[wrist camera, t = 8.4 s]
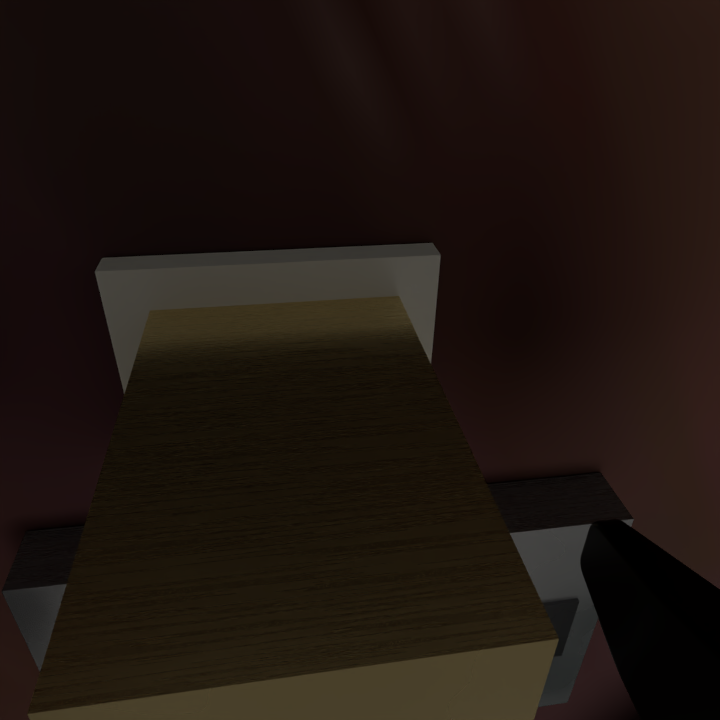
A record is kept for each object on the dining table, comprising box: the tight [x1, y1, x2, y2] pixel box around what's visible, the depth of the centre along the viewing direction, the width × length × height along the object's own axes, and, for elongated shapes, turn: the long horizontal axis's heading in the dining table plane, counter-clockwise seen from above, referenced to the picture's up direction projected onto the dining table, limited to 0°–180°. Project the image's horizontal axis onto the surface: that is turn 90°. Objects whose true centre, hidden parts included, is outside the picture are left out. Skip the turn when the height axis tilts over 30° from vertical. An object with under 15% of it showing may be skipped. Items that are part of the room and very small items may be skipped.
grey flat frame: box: [2, 473, 634, 707], centre depth 16 cm, size 14×8×2 cm, turn 89°
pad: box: [95, 243, 441, 394], centre depth 12 cm, size 6×6×1 cm
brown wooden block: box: [27, 296, 559, 720], centre depth 9 cm, size 4×4×7 cm
